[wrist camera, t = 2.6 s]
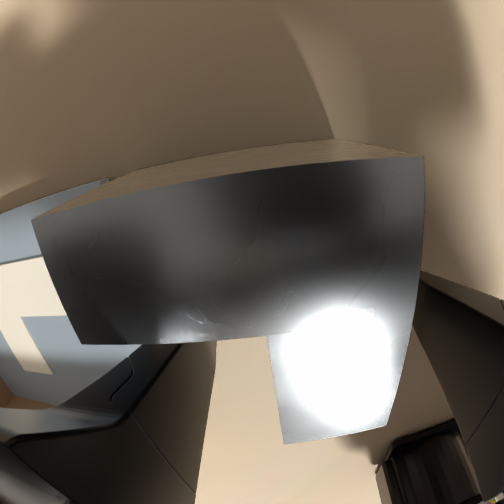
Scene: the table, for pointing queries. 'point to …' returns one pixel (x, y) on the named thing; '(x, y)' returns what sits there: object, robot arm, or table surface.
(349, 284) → the bracket
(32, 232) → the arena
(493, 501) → the chalk box
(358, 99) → the table surface
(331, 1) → the table surface
